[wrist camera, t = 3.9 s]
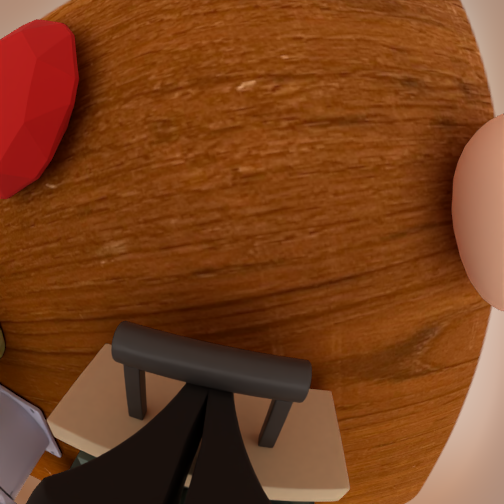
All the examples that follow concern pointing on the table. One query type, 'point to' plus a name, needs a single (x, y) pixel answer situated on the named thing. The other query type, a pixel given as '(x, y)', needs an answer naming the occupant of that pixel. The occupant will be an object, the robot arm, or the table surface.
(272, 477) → the drawer
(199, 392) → the robot arm
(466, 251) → the egg
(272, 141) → the table surface
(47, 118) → the gemstone
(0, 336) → the plant pot
